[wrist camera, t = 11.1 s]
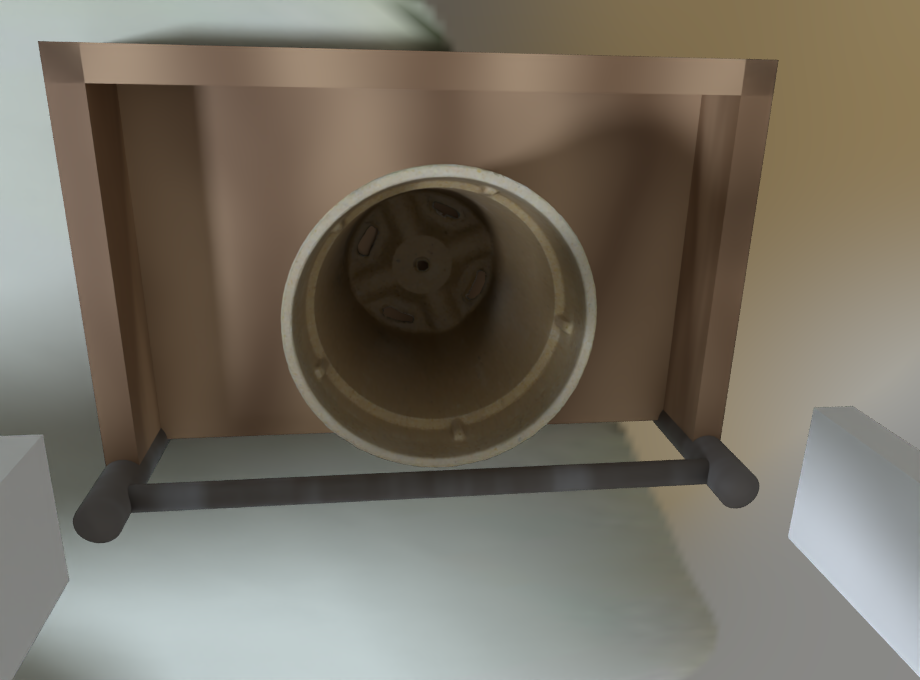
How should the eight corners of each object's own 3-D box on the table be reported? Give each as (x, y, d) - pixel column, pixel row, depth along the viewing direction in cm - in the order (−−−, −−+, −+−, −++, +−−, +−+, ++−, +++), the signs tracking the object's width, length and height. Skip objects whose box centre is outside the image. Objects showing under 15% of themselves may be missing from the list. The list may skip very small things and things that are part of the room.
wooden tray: (135, 448, 32) (77, 544, 25) (78, 46, 26) (-16, 35, 20) (681, 426, 35) (755, 507, 28) (730, 62, 30) (835, 57, 23)
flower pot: (295, 139, 28) (268, 164, 20) (540, 140, 29) (609, 164, 21) (309, 371, 31) (291, 475, 23) (530, 363, 32) (586, 460, 24)
